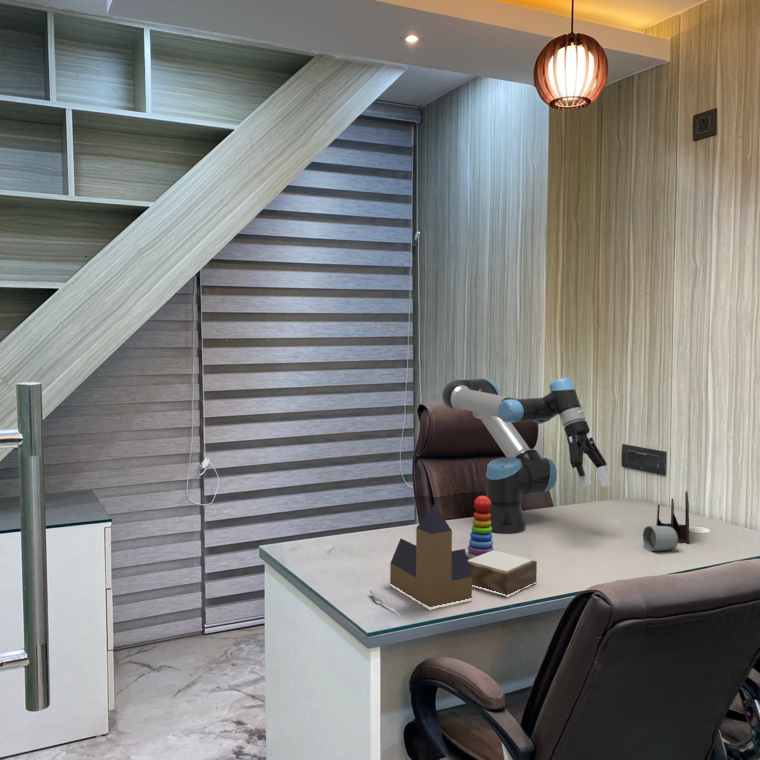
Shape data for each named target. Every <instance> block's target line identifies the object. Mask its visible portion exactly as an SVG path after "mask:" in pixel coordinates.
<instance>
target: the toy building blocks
mask: <svg viewBox="0 0 760 760" xmlns="http://www.w3.org/2000/svg"><path fill="white" fill-rule="evenodd" d="M415 533H416V534H415V535H416V536H415V537H416V538H415V539H416V540H415V542H416V543H415V544H413V543H412V542H409V541H407V540H406V539H403V538H400V539H399V540H398V541H399V542H398V544H397V546H396V548H395V550H394V554H393V556H392V559H391V561H390V563H389V564H390V567H389V568H390V572H389V573H390V574H389V575H390V576H389V577H390V579H389V581H390V582H389V585H390V584H392V585H394V586H395V587H397V588H399V589H400V590H402V591H403V592H405V593H406V594H408V595H410V596H412V597H413V598H415V599H416V600H418V601H420V602H421V603H423V604H425V605H427V606H429V607H433V606H437V605H442V604H447V603H451V602H456V601H461V600H465V599H469V598H472V599H473V597H472V596H473V595H472V594H473V587H472V575H471V571H470V567H469V563H468V560H469V558H468V557H467V552H466V548H462V549H456V550H453V546H452V545H453V543H452V542H453V530H452V528H451V527H450V526H449V524H448V522H447V521H446V520H445V518H444V516H443V515H442V513H441V512H440V510H439V509H438V507H437V506H436V504H433V505H432V506H431V508H430V509H429V510H428V512H427V513H426V514H425V516H424V517H423V518H422V520H421V521H420V523H419V524H418V525H417V526H416V531H415Z"/></svg>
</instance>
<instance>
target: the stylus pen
mask: <svg viewBox="0 0 760 760" xmlns="http://www.w3.org/2000/svg"><path fill="white" fill-rule="evenodd" d="M369 593H370V594H371V596H372V597H373V598H374V599H375V600H376V601H378V602H379V601H380V602H381V603H383V604H385V605H386V606H388V607H390V608H393V607H394V606H393V604H391V602H389V601H388V599H387V597H386V596H385V595H384V594H381V593H379V592H377V591H374V590H373V589H369ZM372 597H371V598H372ZM373 598H372V599H373ZM374 599H373V600H374Z"/></svg>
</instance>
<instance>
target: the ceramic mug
mask: <svg viewBox="0 0 760 760" xmlns="http://www.w3.org/2000/svg"><path fill="white" fill-rule="evenodd" d="M642 542H643V545H644V548H645V549H646V550H647V549H648V550H647V551H649V552H661V551H671V550H674V549H676V547H678V544H679V543H678V535H677V532H676V531H675V530H674V529H673V528H672V527H668V526H656V525H647V526H646V527H644V529H643V531H642Z"/></svg>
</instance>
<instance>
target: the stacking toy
mask: <svg viewBox="0 0 760 760" xmlns="http://www.w3.org/2000/svg"><path fill="white" fill-rule="evenodd" d="M473 505H474V506H473V507H474V509H475V511H474V512H473V519H472V520H471V521H472V522H471V523H472V525H471V532H470V534H469V535H470V536H469V537H470V538H469V540H468V544H469V545H468V546H467V550H468V551H467V552H466V555H467V559H468V560H469V559H472V558H474V557H477V556H479V555H482V554H484V553H487V552H490V551H492V550H494V547H493V545H494V541H493V534H492V533H493V532H492V527H491V526H490V525H491V521H490V520H489V519H490V518H491V514H490V513H489V512H488V511H489V510H490V508H491V501H490V499H489V498H488V497H486V495H479V496H477V497H476V498H475V499H474V501H473Z"/></svg>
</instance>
